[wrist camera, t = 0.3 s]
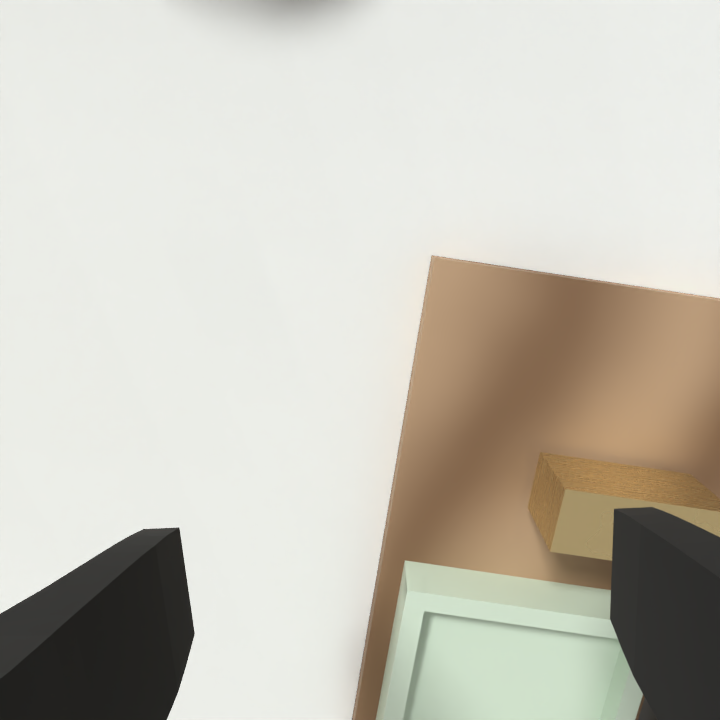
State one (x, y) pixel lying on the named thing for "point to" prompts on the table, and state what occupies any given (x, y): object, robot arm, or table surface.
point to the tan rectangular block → (609, 501)
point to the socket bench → (535, 420)
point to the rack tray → (503, 650)
